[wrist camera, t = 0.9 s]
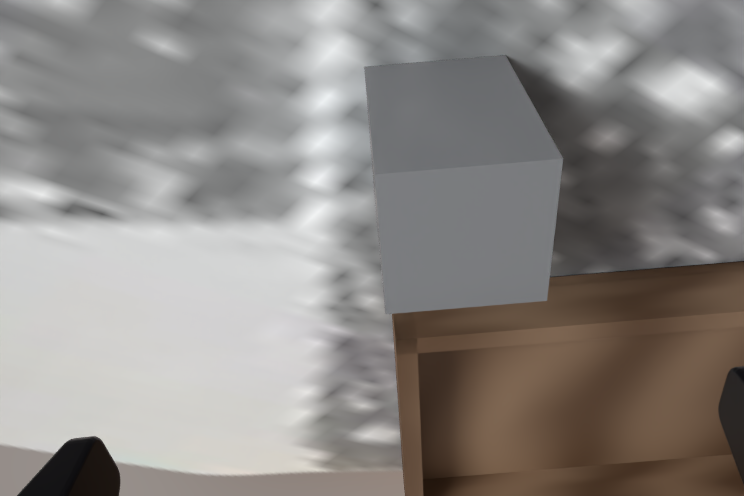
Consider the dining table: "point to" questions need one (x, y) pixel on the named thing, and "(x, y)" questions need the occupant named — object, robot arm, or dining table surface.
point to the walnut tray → (575, 388)
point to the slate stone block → (460, 185)
